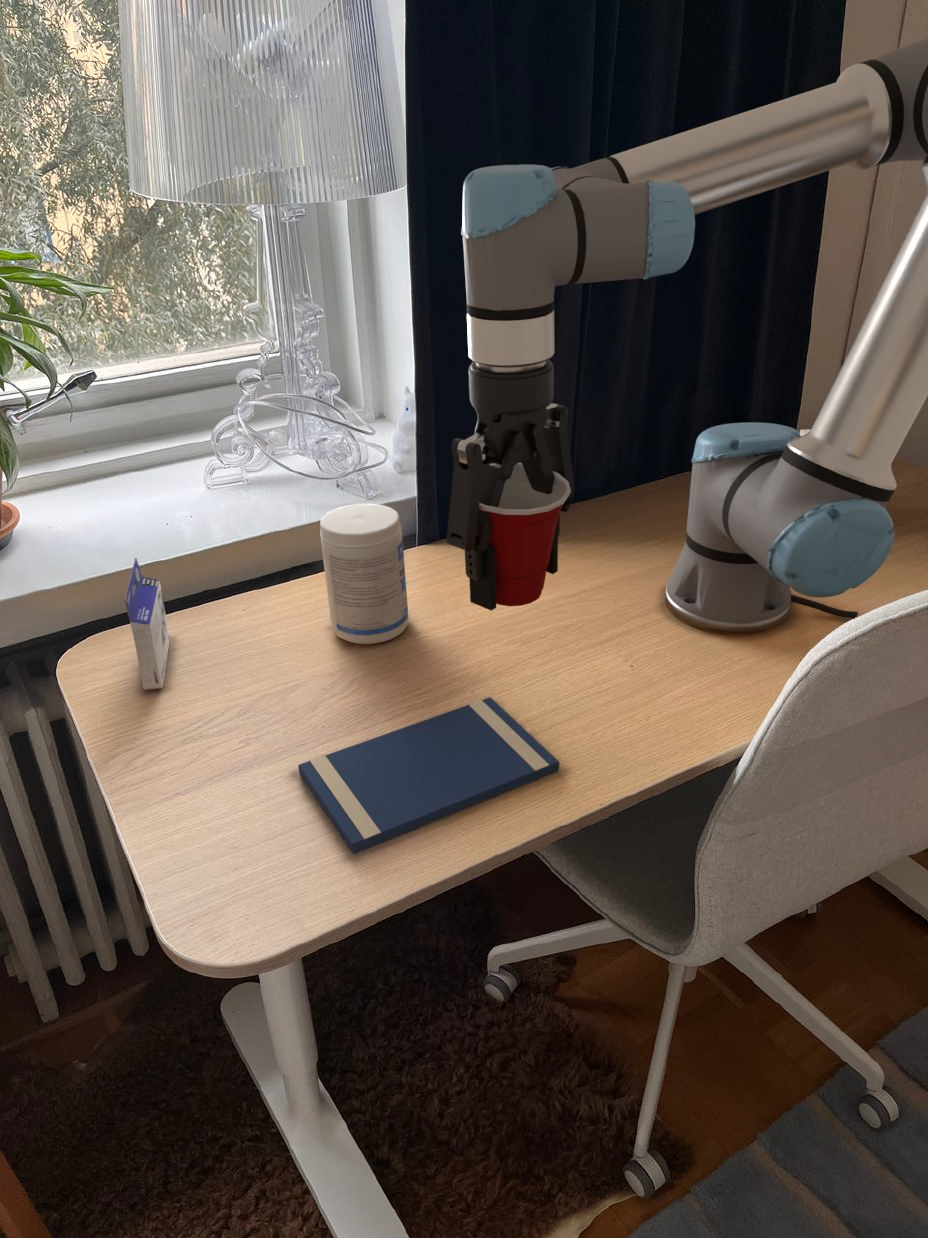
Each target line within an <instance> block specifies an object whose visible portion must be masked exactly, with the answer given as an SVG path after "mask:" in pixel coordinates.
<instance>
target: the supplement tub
mask: <svg viewBox="0 0 928 1238" xmlns="http://www.w3.org/2000/svg"><path fill="white" fill-rule="evenodd" d="M319 525H320V532H319V535H320V544H321V553H322V560H323V569H324V577H325V584H326V585H325V587H326V592H327V601H328V608H329V609H328V610H329V618H330V624H331V628H332V631H333V633H334V634H335V635H336V636H337V637H339V638H340V639H342V640H344V641H347V642H349V643H352V644H358V645H372V644H373V645H375V644H379V643H380V644H381V643H384V642H388V641H390V640H392V639H394V638H396V637H397V636H399V635H401V634H402V633H403V632H404V631H405V630H406V628H407V626H408V624H409V609H408V608H409V605H408V591H407V580H406V579H407V578H406V566H405V554H404V542H403V530H402V524H401V521H400V514H399V513H398V512H397V510H395V509H394V508H392V507H390V506H387V505H384V504H380V503H379V504H378V503H354V504H349V505H347V504H346V505H343V506H339V507H337V508H334V509H332V510H330V511H328V512H327V513H325V514H324V515H323V516H322V517H321V519H320V522H319Z"/></svg>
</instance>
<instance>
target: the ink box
mask: <svg viewBox="0 0 928 1238" xmlns="http://www.w3.org/2000/svg"><path fill="white" fill-rule="evenodd" d="M124 603H125V608H126V612H127V615H128V620H129V624H130V628H131V631H132V635H133V642H134V646H135V651H136V657H137V662H138V667H139V672H140V677H141V682H142V688H143V690H144V691H153V690H161V689H163V686H164V683H165V677H166V669H167V668H166V667H167V661H168V654H169V649H170V648H169V647H170V633H169V627H168V621H167V615H166V610H165V604H164V597H163V593H162V587H161V581H160V580H159V579H158V578H157V579H156V578H153V577H147V576H143V574H142V572H141V568H140V565H139V562H138V557H135V558H134V561H133V565H132V570H131V574H130V577H129V579H128V584H127V588H126V593H125V597H124Z"/></svg>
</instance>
